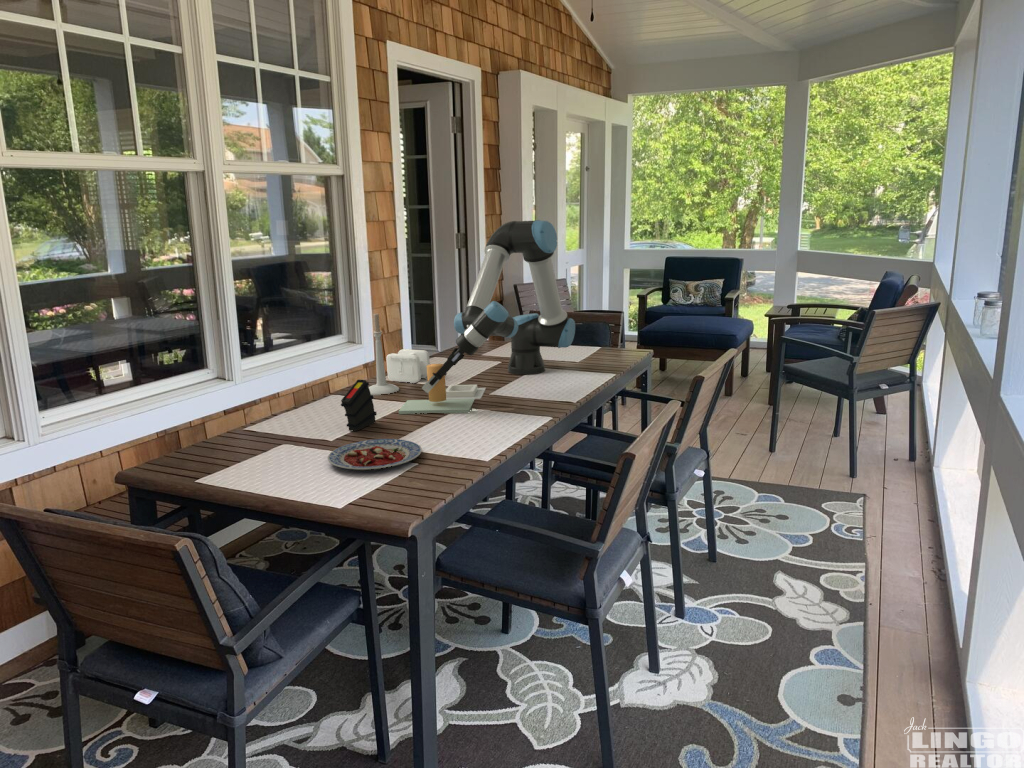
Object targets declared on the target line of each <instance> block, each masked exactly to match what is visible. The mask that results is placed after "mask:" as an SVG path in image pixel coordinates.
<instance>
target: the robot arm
mask: <svg viewBox="0 0 1024 768" xmlns="http://www.w3.org/2000/svg"><path fill="white" fill-rule="evenodd" d="M557 241H558V235H557V231H556V229H555V227H554V225H553V224H552V223H551V222H549V221H548V220H540V219H537V220H518V221H517V220H511V221H508V222H505V223H503V224H502V225H500V226H499V227H498V228H496V230H495V231H493V233H492V234H491V235H490V237H489V239H488V240H487V242H486V245H485V247H484V249H483V251H484V258H483V261H482V263H481V267H480V269H479V272H478V274H477V277H476V280H475V282H474V285H473V289H472V290H471V293H470V295H469V296H470V297H469V300H468V302H467V305H466V306H465V310H464V311H463V312H458V313H457V314H456V315H455V317H454V320H453V326H454V330H455V331H456V332H457V333H458V334H460V335H459V336H458V337H457V338H456V340H455V343H456V345H457V346H458V347H455V348H454V349H453V351H452V352H451V354H449V356H448V357H447V360H446V361H445V362H443V364H444V365H443V366H442V367H441V368H440V369H439V370H438V371H437V373H433V376H432V377H431V378H430V379H429V381H428V380H427V381H426V382H425V383H424V384H423V386H422V387H421V389H422V390H423V391H424V392H425V393H426V394H429V393H428V392H429V391H430V390H431V389H432V388H433V387H434V386H435V385H436V384H437V383H438V382H439V380H441V379H442V377H443V376H444V375H445V377H446V376H447V374H448V372H449V371H450V370H451V368H453V367H454V366H456V365H457V364H458V362H459V361H462V360H463V359H464V357H465V354H466V355H468V356H473V355H474V354H475V353H476V352H477V351H478V350H479V348H480V347H481V346H483V345H484V344H485V342H486V341H487V340H488V339H489V338H490V337H491V336H492V337H493V336H494V337H502V338H507V339H510V344H511V345H510V346H511V353H510V357H509V361H508V365H507V372H508V373H509V374H513V375H536V374H540V373H543V372H545V369H546V367H545V362H544V358H543V355H542V354H541V348H540V347H543V348H545V347H548V348H558V349H560V348H562V349H563V348H565V349H566V348H569V347H570V346H571V345H572V343H573V342H574V339H575V334H576V321H575V320H574V319H573V318H571V317H569V316H568V313H567V311H566V310H564V309H563V307H562V302H561V298H560V294H559V288H558V285H557V279H556V275H555V270H554V266H553V262H552V257H553V256H554V254H555V251H556V250H557V246H558V242H557ZM512 254H522V257H523V261H525V262H526V263H528V265H529V269H530V275H531V277H532V282H533V286H534V287H533V288H534V291H535V294H536V300H537V305H538V308H539V309H538V310H539V312H540V313H534V312H533V313H527V314H520V315H516V316H513V317H512V315H510V314H509V311H508V310H507V308H506V307H504V306H503V305H502V304H501V303H499V302H498V301H496V300H492V298H493V295H494V293H495V290H496V288H497V285H498V283H499V279H500V275H501V273H502V272H503V271H502V270H503V267H504V266H505V263H506V262H507V261H509V259H510V257H511V255H512Z"/></svg>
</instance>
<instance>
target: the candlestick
mask: <svg viewBox="0 0 1024 768" xmlns="http://www.w3.org/2000/svg"><path fill="white" fill-rule="evenodd" d="M373 326H374V327H373V328H374V331H372V333H373V337H374V338H375V362H376V363H375V364H376V365H375V367H376V369H375V370H376V384H373V385H369V386H368V387H369V390H370V393H371V395H373V396H382V395H381V394H388V395H391V394H390V393H393V394H395V393H394V392H396V393H398V392H399V391H400V387H399V386H397V385H395V384H392V383H387V377H386V369H385V361H384V356H383V349H382V341H381V337H382V333H383V331H382V330H381V328H380V327H381V325H380V315H379V313H373ZM397 391H398V392H397Z"/></svg>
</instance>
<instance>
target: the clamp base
mask: <svg viewBox="0 0 1024 768" xmlns="http://www.w3.org/2000/svg"><path fill="white" fill-rule="evenodd" d="M486 388H487V387H478V384H449V385H448V387H446V399H475V400H476V399H477V400H482V397H483V395H484V393H485V391H486Z"/></svg>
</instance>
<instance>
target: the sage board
mask: <svg viewBox="0 0 1024 768" xmlns="http://www.w3.org/2000/svg"><path fill="white" fill-rule="evenodd" d="M475 400H476V399H446V400H445V401H441V402H431V401H429V399H407V400H406V401H405V402H404V404H403V405H402V406H401V407H400V409H398V415H428V414H427V413H444V414H469V413H468V412H470V413H471V411H472V409H473V408H472V406H473V404H474V402H475ZM470 410H471V411H470ZM415 413H417V414H415ZM420 413H422V414H420ZM423 413H424V414H423Z"/></svg>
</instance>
